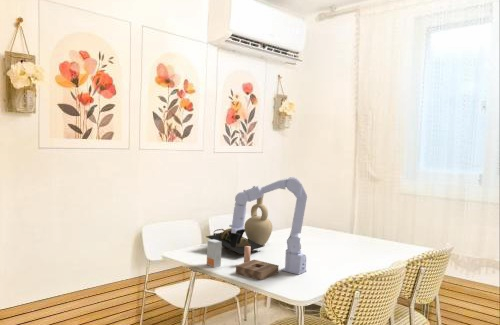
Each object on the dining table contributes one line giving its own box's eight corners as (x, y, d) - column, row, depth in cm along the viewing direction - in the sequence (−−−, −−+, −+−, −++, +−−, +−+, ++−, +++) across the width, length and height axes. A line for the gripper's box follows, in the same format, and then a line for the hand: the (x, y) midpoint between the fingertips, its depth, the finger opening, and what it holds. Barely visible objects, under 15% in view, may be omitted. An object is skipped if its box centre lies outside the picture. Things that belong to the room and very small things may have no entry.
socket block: (278, 272, 183) (278, 265, 183) (261, 280, 171) (261, 272, 171) (253, 266, 191) (253, 259, 191) (235, 273, 180) (236, 265, 179)
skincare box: (206, 264, 191) (207, 240, 190) (213, 263, 194) (214, 239, 193) (214, 267, 186) (215, 242, 186) (221, 266, 189) (222, 241, 189)
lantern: (235, 266, 202) (194, 241, 219) (259, 261, 222) (220, 238, 238) (244, 242, 201) (202, 218, 217) (267, 239, 220) (227, 217, 237)
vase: (277, 246, 234) (279, 195, 233) (254, 249, 224) (256, 196, 223) (260, 240, 247) (262, 192, 246) (238, 242, 238) (240, 193, 237)
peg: (251, 264, 194) (251, 246, 193) (247, 266, 191) (248, 247, 191) (246, 263, 195) (247, 245, 195) (242, 264, 193) (243, 246, 193)
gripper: (234, 213, 196) (231, 240, 197) (226, 218, 182) (222, 247, 183) (248, 216, 195) (244, 243, 195) (241, 220, 181) (237, 249, 181)
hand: (235, 245), depth 189 cm, fingers open, 7 cm apart
